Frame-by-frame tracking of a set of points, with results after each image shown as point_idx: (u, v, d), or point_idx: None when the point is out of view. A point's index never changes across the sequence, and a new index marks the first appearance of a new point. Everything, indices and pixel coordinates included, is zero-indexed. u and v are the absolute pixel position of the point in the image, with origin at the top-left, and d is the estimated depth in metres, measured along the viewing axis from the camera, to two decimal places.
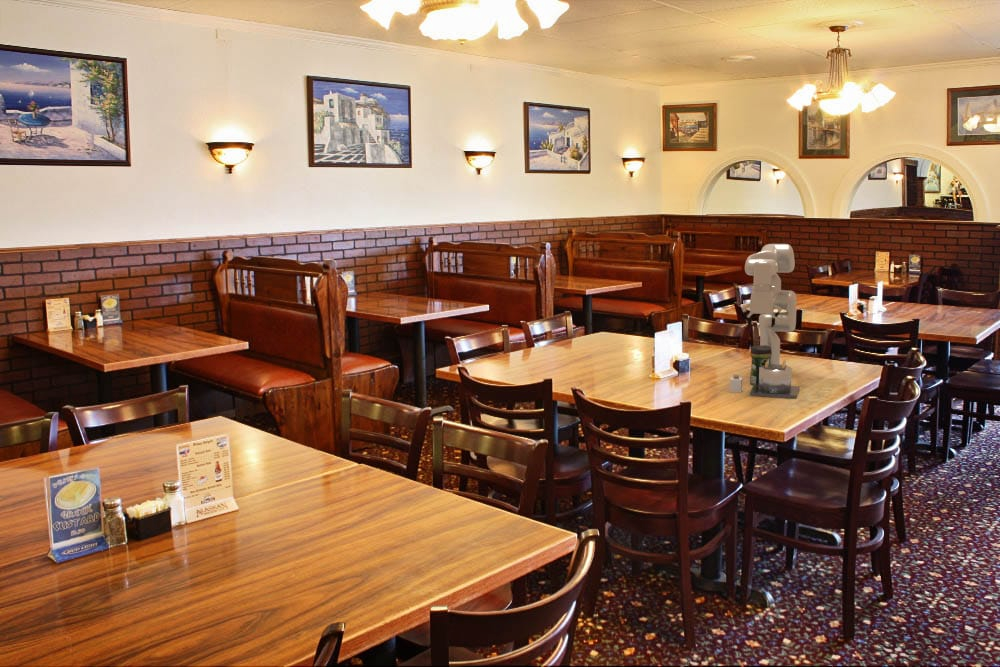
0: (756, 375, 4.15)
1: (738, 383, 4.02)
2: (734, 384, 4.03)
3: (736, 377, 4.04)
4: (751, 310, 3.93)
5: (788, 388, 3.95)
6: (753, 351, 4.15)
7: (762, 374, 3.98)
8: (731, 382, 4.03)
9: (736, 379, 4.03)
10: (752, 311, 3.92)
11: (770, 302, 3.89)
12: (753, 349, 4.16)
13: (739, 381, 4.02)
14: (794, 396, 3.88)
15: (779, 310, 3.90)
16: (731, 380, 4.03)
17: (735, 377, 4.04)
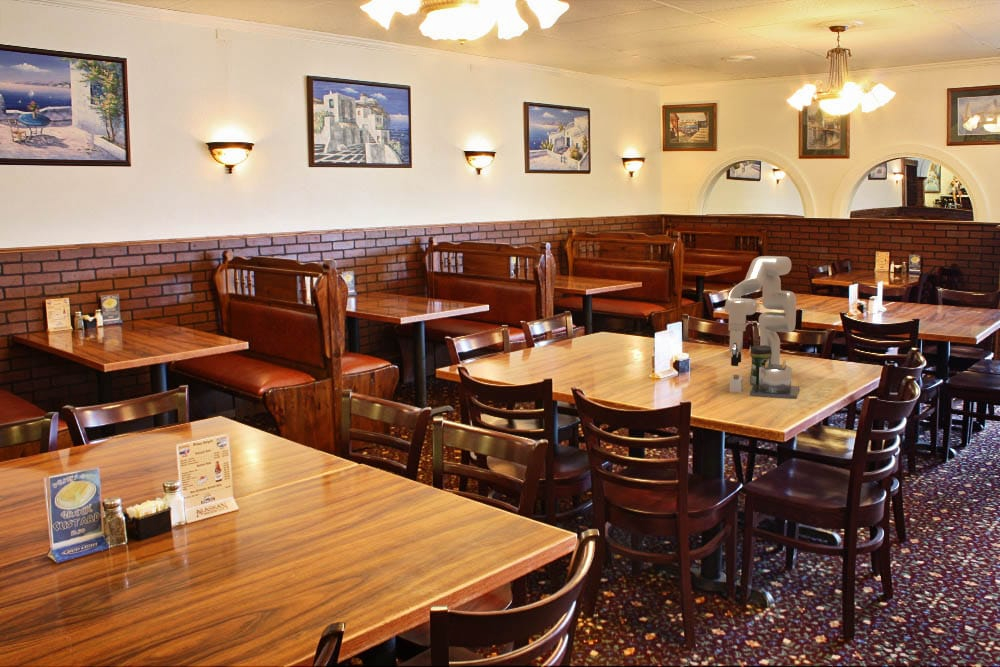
0: (756, 375, 4.15)
1: (738, 383, 4.02)
2: (734, 384, 4.03)
3: (736, 377, 4.04)
4: (739, 349, 3.98)
5: (788, 388, 3.95)
6: (753, 351, 4.15)
7: (762, 374, 3.98)
8: (731, 382, 4.03)
9: (736, 379, 4.03)
10: (740, 350, 3.98)
11: None
12: (753, 349, 4.16)
13: (739, 381, 4.02)
14: (794, 396, 3.88)
15: None
16: (731, 380, 4.03)
17: (735, 377, 4.04)
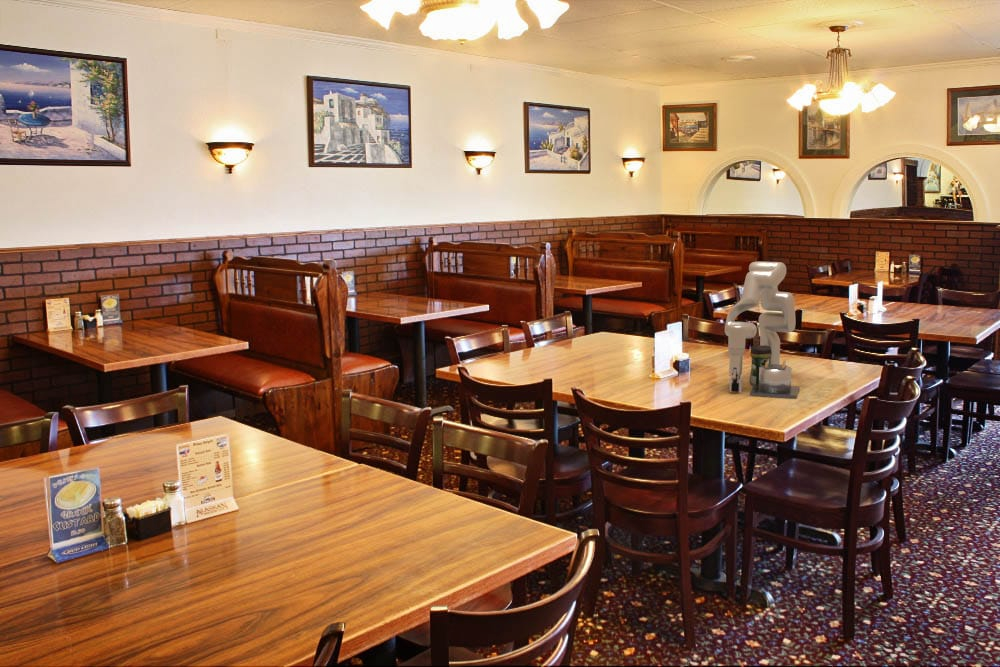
0: (756, 375, 4.15)
1: None
2: None
3: None
4: (739, 374, 4.00)
5: (788, 388, 3.95)
6: (753, 351, 4.15)
7: (762, 374, 3.98)
8: (731, 382, 4.03)
9: None
10: (739, 375, 4.00)
11: None
12: (753, 349, 4.16)
13: (739, 381, 4.02)
14: (794, 396, 3.88)
15: None
16: (731, 380, 4.03)
17: None
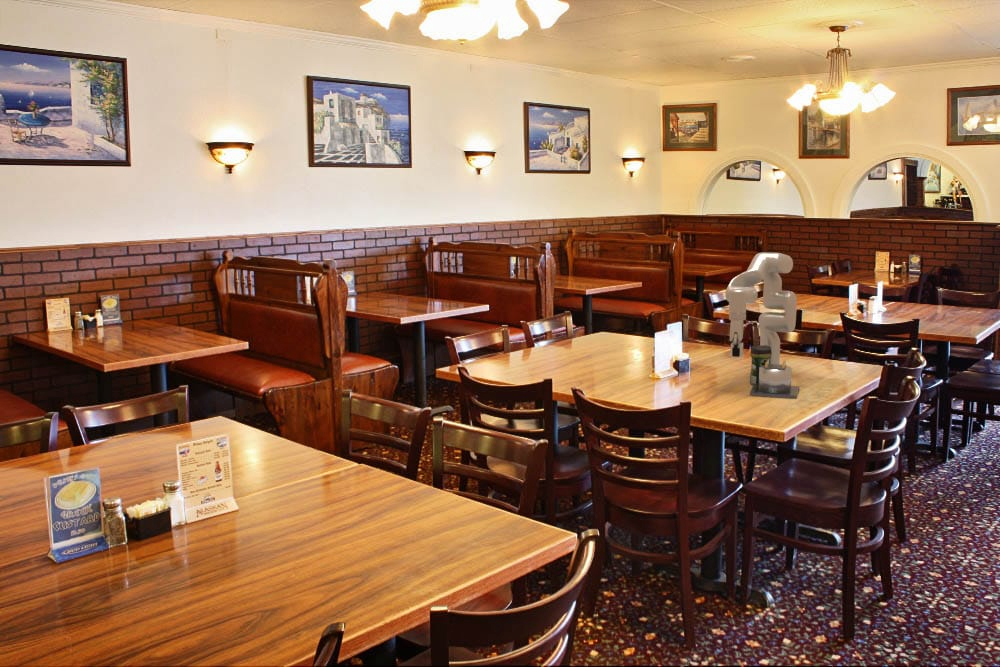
0: (756, 375, 4.15)
1: None
2: None
3: None
4: (740, 338, 3.97)
5: (788, 388, 3.95)
6: (753, 351, 4.15)
7: (762, 374, 3.98)
8: (732, 347, 4.01)
9: None
10: (740, 339, 3.98)
11: None
12: (753, 349, 4.16)
13: (740, 346, 4.00)
14: (794, 396, 3.88)
15: None
16: (732, 345, 4.01)
17: None
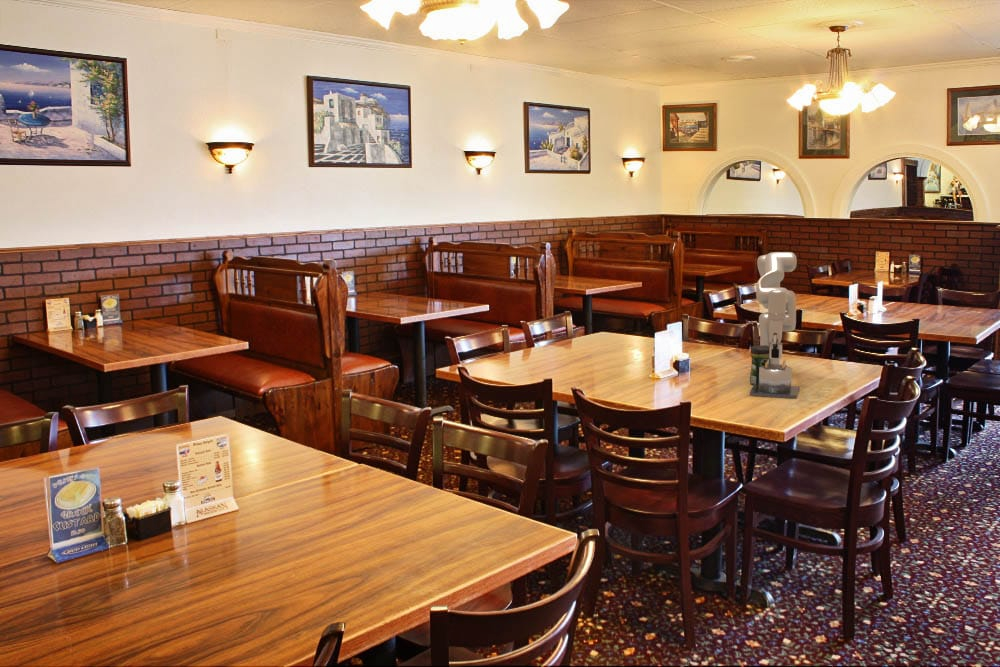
0: (756, 375, 4.15)
1: None
2: None
3: None
4: (780, 339, 3.93)
5: (788, 388, 3.95)
6: (753, 351, 4.15)
7: (762, 374, 3.98)
8: (771, 348, 3.96)
9: None
10: (780, 340, 3.93)
11: None
12: (753, 349, 4.16)
13: (779, 347, 3.95)
14: (794, 396, 3.88)
15: None
16: (771, 346, 3.96)
17: None
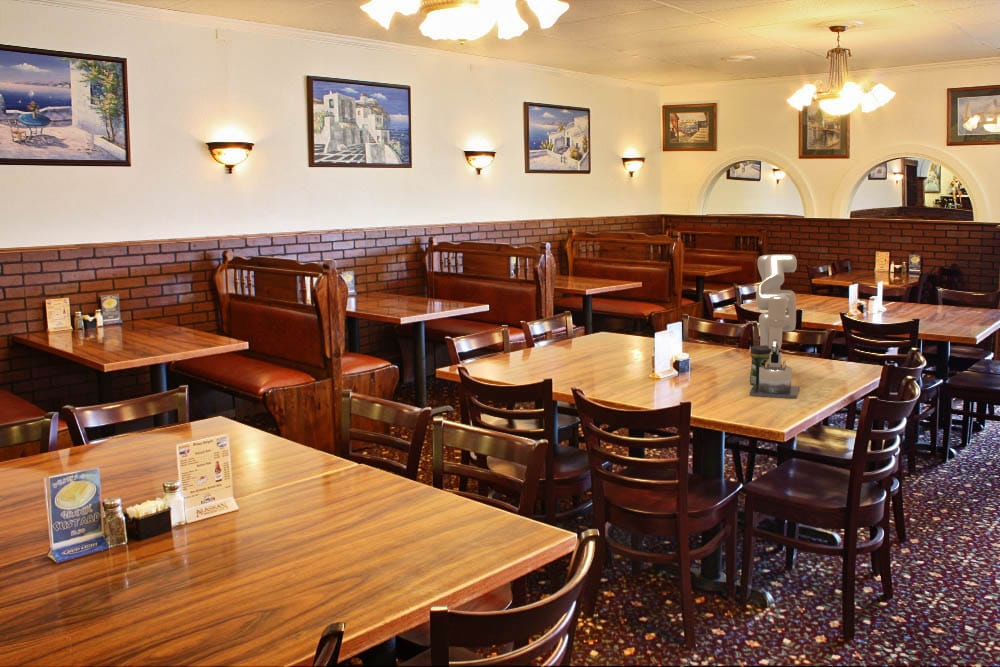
0: (756, 375, 4.15)
1: None
2: None
3: None
4: (779, 346, 3.93)
5: (788, 388, 3.95)
6: (753, 351, 4.15)
7: (762, 374, 3.98)
8: None
9: None
10: (780, 347, 3.94)
11: None
12: (753, 349, 4.16)
13: (779, 355, 3.96)
14: (794, 396, 3.88)
15: None
16: None
17: None
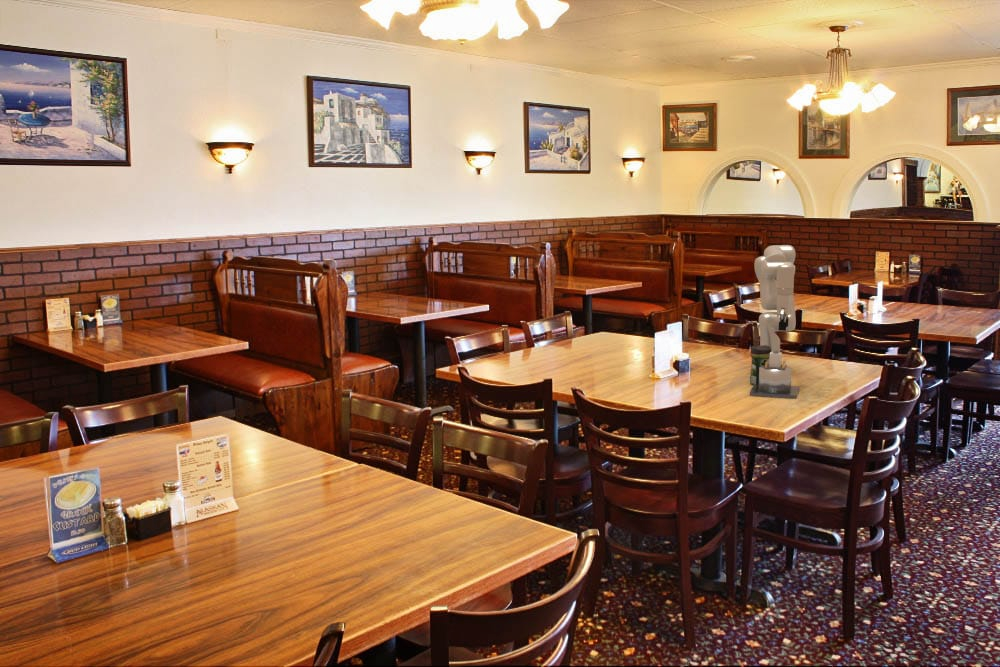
0: (756, 375, 4.15)
1: (778, 357, 3.96)
2: (774, 358, 3.97)
3: (776, 351, 3.97)
4: (787, 314, 3.96)
5: (788, 388, 3.95)
6: (753, 351, 4.15)
7: (762, 374, 3.98)
8: (771, 356, 3.97)
9: (776, 353, 3.97)
10: (787, 315, 3.97)
11: None
12: (753, 349, 4.16)
13: (779, 355, 3.96)
14: (794, 396, 3.88)
15: None
16: (771, 354, 3.97)
17: (775, 351, 3.97)
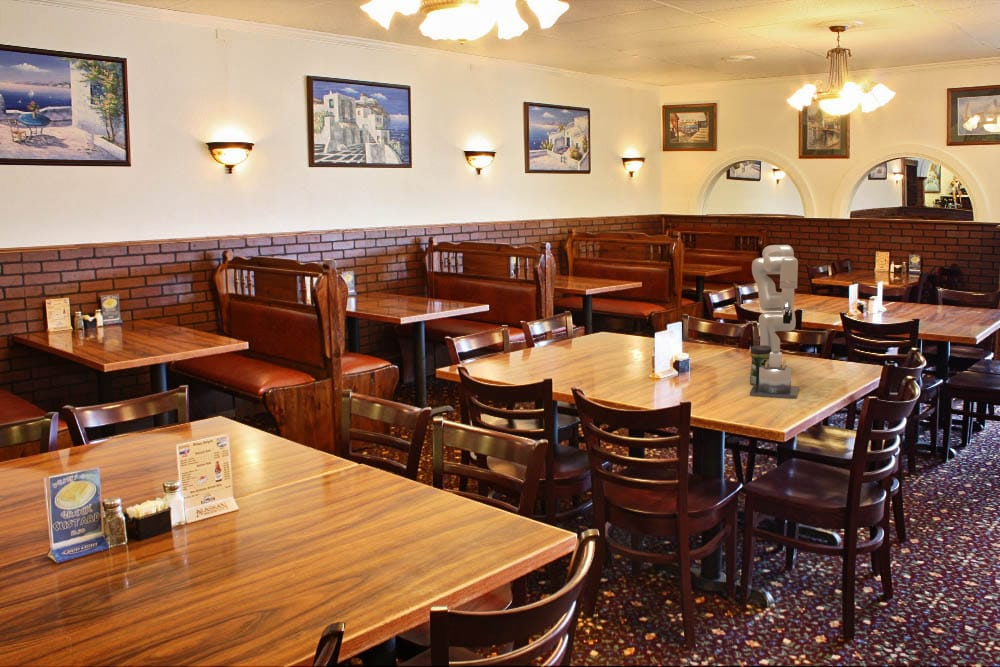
0: (756, 375, 4.15)
1: (778, 357, 3.96)
2: (774, 358, 3.97)
3: (776, 351, 3.97)
4: (791, 307, 3.98)
5: (788, 388, 3.95)
6: (753, 351, 4.15)
7: (762, 374, 3.98)
8: (771, 356, 3.97)
9: (776, 353, 3.97)
10: (792, 308, 3.99)
11: None
12: (753, 349, 4.16)
13: (779, 355, 3.96)
14: (794, 396, 3.88)
15: None
16: (771, 354, 3.97)
17: (775, 351, 3.97)
